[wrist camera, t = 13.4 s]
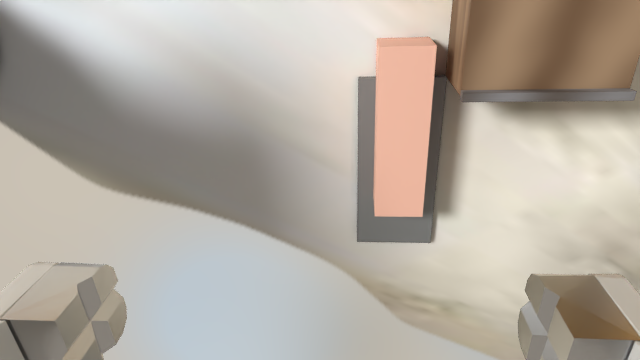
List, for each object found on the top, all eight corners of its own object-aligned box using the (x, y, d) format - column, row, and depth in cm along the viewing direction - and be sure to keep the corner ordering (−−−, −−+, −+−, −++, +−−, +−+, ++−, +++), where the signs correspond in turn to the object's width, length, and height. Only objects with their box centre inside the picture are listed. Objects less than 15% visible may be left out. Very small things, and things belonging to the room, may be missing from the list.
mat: (357, 238, 43) (357, 241, 42) (358, 76, 36) (358, 78, 35) (429, 239, 42) (430, 242, 42) (445, 75, 35) (446, 77, 35)
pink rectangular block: (373, 196, 40) (374, 216, 37) (376, 38, 34) (378, 46, 31) (417, 196, 40) (422, 216, 37) (429, 37, 33) (436, 45, 30)
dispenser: (445, 78, 35) (462, 102, 29) (457, -51, 31) (480, -52, 25) (587, 75, 34) (633, 100, 29) (620, -57, 30) (682, -60, 24)
